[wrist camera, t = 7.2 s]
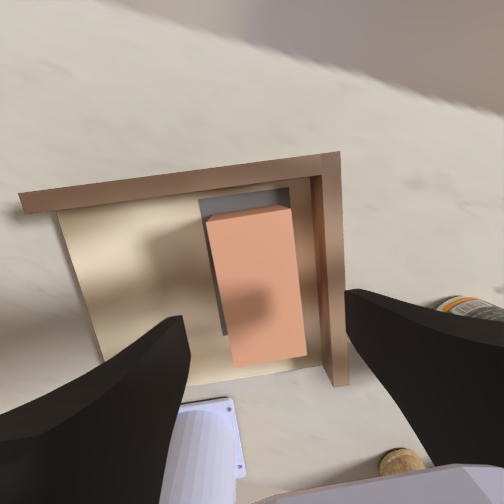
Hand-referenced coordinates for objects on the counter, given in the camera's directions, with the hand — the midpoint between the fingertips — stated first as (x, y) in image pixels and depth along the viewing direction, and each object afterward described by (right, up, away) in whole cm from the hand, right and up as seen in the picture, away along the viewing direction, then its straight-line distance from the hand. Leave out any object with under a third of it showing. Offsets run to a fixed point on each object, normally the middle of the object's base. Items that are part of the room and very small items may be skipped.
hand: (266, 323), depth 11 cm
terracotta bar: (0, +2, +8) cm, 8 cm away
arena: (-4, +1, +9) cm, 10 cm away
